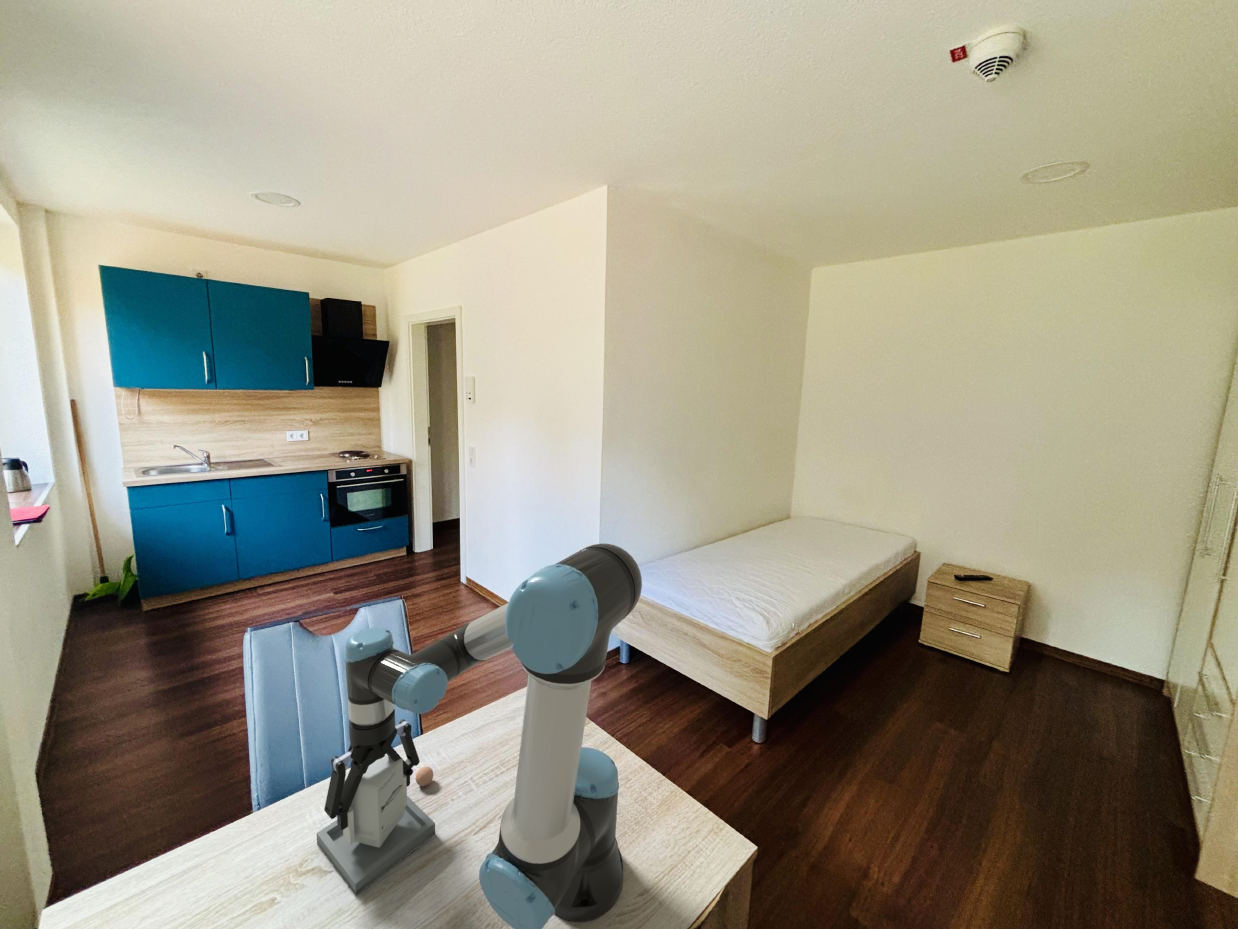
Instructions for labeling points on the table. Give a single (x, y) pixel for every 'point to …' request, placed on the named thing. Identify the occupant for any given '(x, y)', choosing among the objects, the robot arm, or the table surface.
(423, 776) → the mixing ball
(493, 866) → the robot arm
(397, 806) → the supplement box
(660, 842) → the table surface
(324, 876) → the table surface
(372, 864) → the tray
